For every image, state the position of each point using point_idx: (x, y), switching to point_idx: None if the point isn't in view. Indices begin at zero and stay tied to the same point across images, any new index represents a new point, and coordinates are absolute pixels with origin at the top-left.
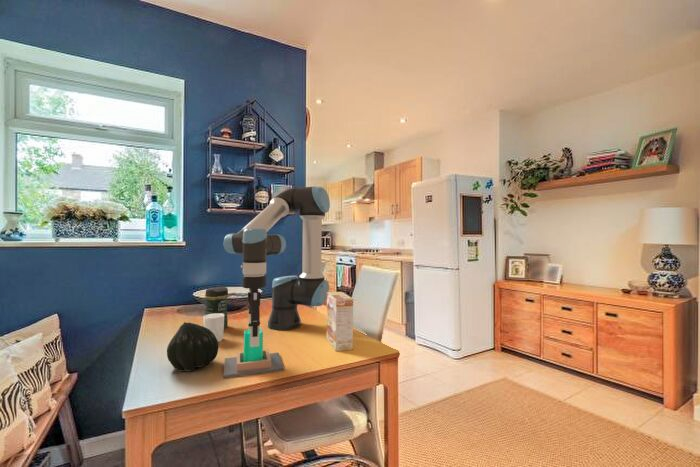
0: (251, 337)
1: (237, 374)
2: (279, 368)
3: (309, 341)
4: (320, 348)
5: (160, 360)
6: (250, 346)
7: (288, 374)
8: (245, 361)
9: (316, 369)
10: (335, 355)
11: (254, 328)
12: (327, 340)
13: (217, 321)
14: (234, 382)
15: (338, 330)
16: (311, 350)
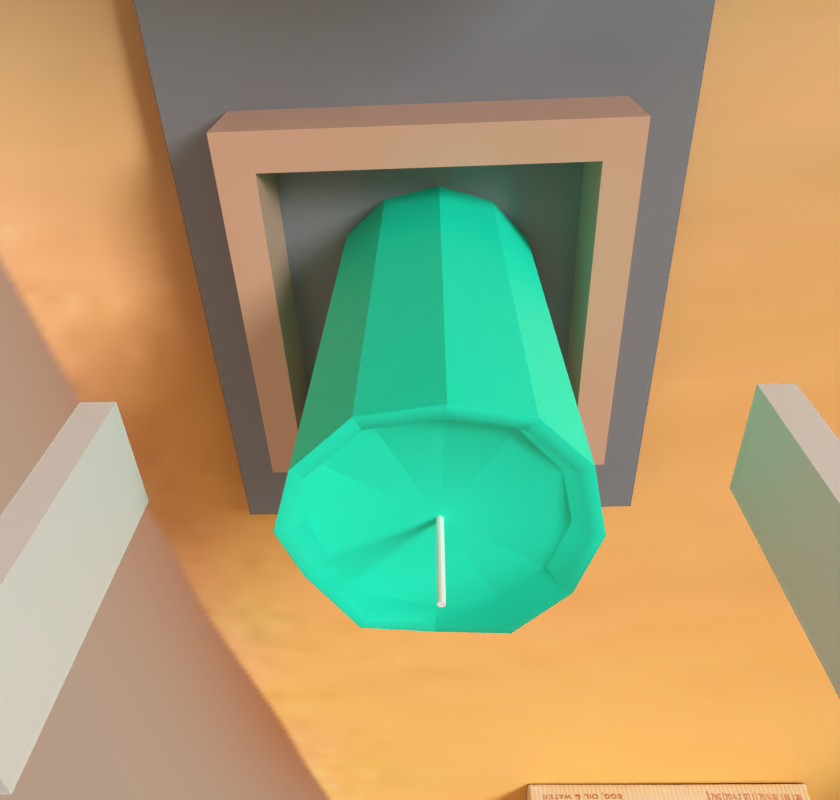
0: (16, 516)
1: (162, 120)
2: (246, 486)
3: (825, 701)
4: (627, 731)
5: None
6: (74, 412)
7: (176, 520)
8: (376, 223)
9: (243, 665)
10: (457, 771)
11: None
12: (761, 785)
13: None
14: (17, 88)
15: None
16: (614, 687)
